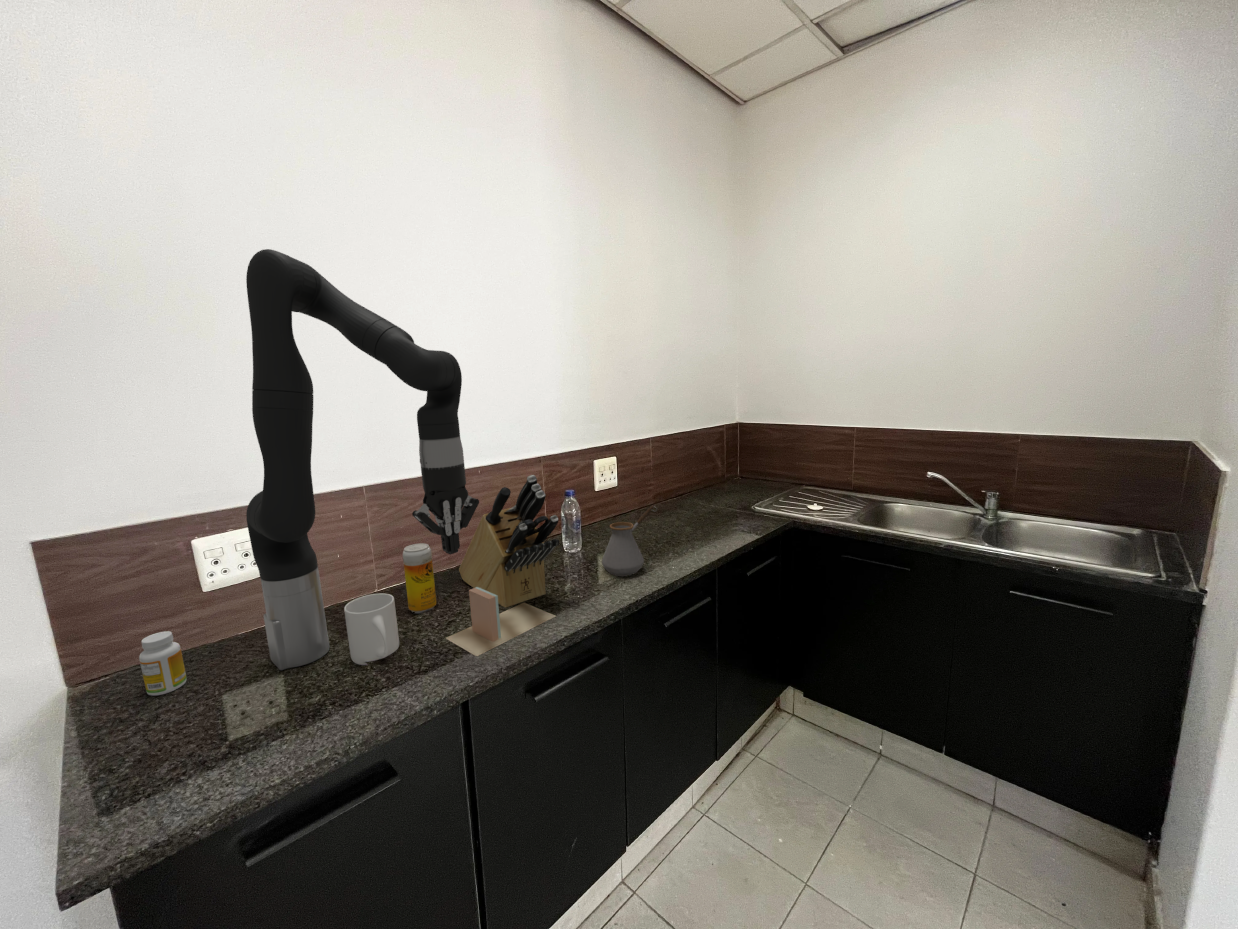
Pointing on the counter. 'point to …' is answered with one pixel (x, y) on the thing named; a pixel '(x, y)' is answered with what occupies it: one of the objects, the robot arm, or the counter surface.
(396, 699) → the counter surface
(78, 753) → the counter surface
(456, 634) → the board
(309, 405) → the robot arm
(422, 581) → the beer can
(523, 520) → the knife block
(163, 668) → the supplement bottle
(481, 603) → the pink rectangular block
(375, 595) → the mug
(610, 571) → the coffee pot
